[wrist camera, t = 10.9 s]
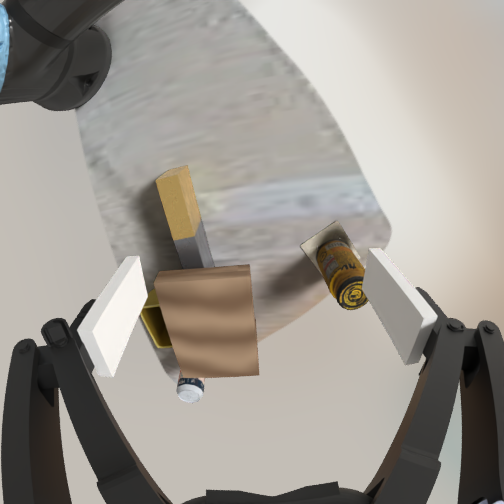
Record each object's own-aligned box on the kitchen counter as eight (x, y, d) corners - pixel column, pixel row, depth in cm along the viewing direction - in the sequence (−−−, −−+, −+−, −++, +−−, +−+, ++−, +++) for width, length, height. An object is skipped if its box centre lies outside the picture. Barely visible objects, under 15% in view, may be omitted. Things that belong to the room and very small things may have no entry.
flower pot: (167, 316, 53) (157, 349, 45) (150, 277, 49) (135, 308, 41) (212, 309, 52) (207, 343, 44) (198, 268, 49) (190, 299, 41)
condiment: (325, 280, 50) (345, 323, 40) (299, 245, 47) (316, 284, 37) (360, 256, 49) (387, 295, 38) (337, 219, 46) (364, 252, 35)
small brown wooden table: (173, 241, 46) (153, 283, 35) (248, 235, 46) (250, 276, 35) (192, 328, 54) (183, 377, 43) (256, 324, 54) (259, 375, 43)
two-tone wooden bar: (168, 170, 41) (155, 180, 35) (187, 165, 41) (177, 174, 35) (212, 316, 53) (209, 342, 47) (228, 313, 53) (227, 339, 47)
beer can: (199, 339, 56) (191, 386, 45) (212, 353, 57) (208, 400, 47) (179, 346, 56) (170, 392, 46) (193, 361, 58) (186, 406, 48)
